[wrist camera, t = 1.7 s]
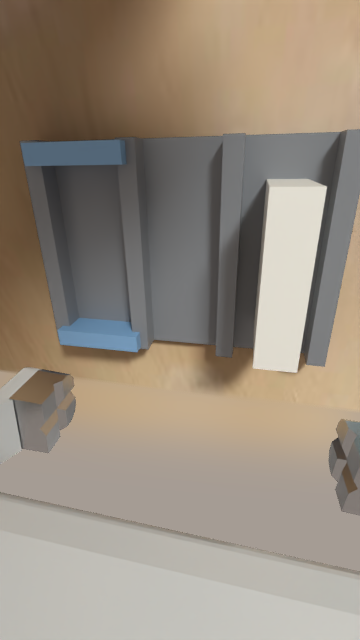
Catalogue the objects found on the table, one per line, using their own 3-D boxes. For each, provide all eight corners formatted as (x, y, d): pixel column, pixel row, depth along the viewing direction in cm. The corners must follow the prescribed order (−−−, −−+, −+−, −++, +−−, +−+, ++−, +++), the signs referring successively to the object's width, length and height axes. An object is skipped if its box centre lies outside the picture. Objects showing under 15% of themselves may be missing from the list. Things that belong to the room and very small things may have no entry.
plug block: (266, 178, 26) (269, 186, 18) (307, 178, 25) (327, 186, 18) (254, 320, 31) (252, 368, 24) (288, 322, 30) (296, 372, 23)
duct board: (38, 142, 29) (8, 140, 25) (363, 132, 24) (382, 127, 20) (71, 327, 37) (51, 345, 33) (321, 349, 32) (329, 373, 28)
